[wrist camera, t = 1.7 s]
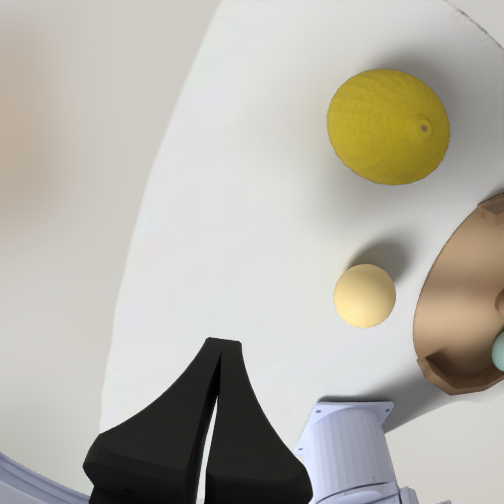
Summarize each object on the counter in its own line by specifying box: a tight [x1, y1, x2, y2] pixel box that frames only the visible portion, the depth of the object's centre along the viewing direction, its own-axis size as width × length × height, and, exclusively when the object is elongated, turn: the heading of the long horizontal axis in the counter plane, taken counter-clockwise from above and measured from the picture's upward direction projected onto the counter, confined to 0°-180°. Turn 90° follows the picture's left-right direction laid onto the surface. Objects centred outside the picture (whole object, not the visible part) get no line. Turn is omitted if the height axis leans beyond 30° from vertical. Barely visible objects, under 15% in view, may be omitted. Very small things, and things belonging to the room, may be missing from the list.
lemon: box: [327, 69, 450, 185], centre depth 13 cm, size 6×6×8 cm
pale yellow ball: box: [334, 264, 396, 328], centre depth 19 cm, size 4×4×4 cm
